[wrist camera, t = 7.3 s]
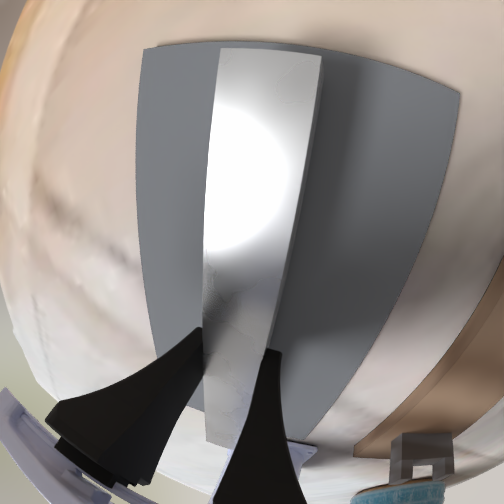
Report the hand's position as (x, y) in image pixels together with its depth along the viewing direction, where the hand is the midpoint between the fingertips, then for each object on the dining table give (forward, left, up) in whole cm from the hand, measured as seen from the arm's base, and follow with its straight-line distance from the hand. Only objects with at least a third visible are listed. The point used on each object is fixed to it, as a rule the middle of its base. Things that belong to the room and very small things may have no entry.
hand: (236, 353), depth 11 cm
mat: (0, 0, -3) cm, 3 cm away
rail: (0, 0, -2) cm, 2 cm away
